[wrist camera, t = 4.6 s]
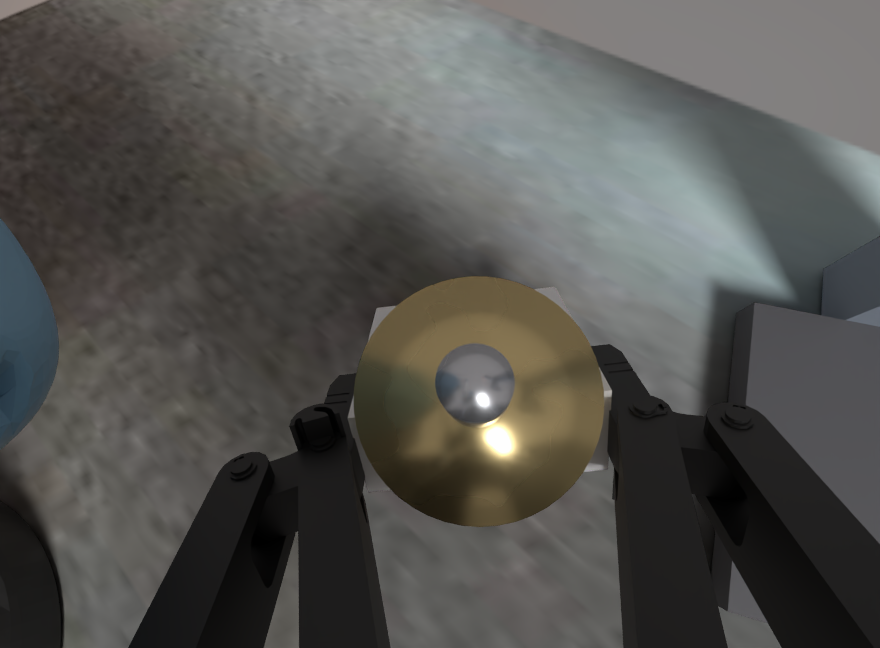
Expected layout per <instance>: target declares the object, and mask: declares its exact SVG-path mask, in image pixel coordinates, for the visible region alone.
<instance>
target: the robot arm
mask: <svg viewBox="0 0 880 648" xmlns="http://www.w3.org/2000/svg"><path fill="white" fill-rule="evenodd" d="M535 290H536V291H537V292H539V293H541V294H543V295H545V296H546V297H548V298H549V299H550V300H552V301H553V302H555V303H556V304H557V305H559V306H560V307H561V308H562V309H563V310H564V311H565V312H566V313H567V314H568V315H569V316H570V317H571V315H570V313H569V311H568V309H567V307H566V306H565V304H564V302H563V300H562V298H561V296H560V295H559V293H558V291H557V289H556V287H548V288H540V289H535ZM395 307H396V306H389V307H380V308H377V309H376V312H375V316H374V320H373V324H372V327H371V331H370V335H369V339H370V337H371V336H372V334H373V333H374V331H375V330H376V328H377V327H378V326H379V324H380V323H381V322H382V320H383V319H384V318H385V317H386V316H387V315H388V314H389V313H390V312H391V311H392V310H393V309H394V308H395ZM571 318H572V317H571ZM572 319H573V318H572ZM369 339H368V341H369ZM591 348H592V350H593V352H594V354H595V357H596V359H597V362H598V366H599V369H600V372H601V377H602V383H603V388H604V415H603V424H602V428H601V433H600V437H599V441H598V443H597V446H596V448H595V451H594V453H593V456H592V458H591V459H590V461H589V463H588V465H587V467H586V468H585V470H584V472H586V471H596V470H607V469H608V458H609V457H610V459H611V461H612V463H613V465H614V479H613V496H612V499H614V500H615V514H616V530H617V547H618V563H619V580H620V596H621V613H622V630H623V646H624V648H728V647H727V643H726V638H725V634H724V630H723V625H722V621H721V617H720V613H719V608H718V604H717V600H716V596H715V591H714V587H713V583H712V579H711V574H710V570H709V566H708V562H707V557H706V553H705V549H704V545H703V540H702V536H701V532H700V528H699V523H698V519H697V515H696V511H695V506H694V502H693V498H692V494H695V495H696V497H697V499H698V501H699V503H700V504H701V506H702V508H703V510H704V511H705V513H706V515H707V517H708V519H709V520H710V522H711V524H712V526H713V527H714V529H715V531H716V533H717V534H718V536H719V538H720V540H721V541H722V543H723V545H724V547H725V548H726V550H727V552H728V554H729V555H730V557H731V559H732V561H733V562H734V564H735V566H736V568H737V570H738V571H739V573H740V575H741V577H742V578H743V580H744V582H745V584H746V585H747V587H748V589H749V591H750V592H751V594H752V596H753V598H754V599H755V601H756V603H757V605H758V606H759V608H760V610H761V612H762V614H763V615H764V617H765V619H766V621H767V622H768V624H769V626H770V628H771V629H772V631H773V633H774V635H775V636H776V638H777V640H778V642H779V643H780V645H781V647H782V648H880V544H879V543H878V541H877V540H876V539H875V538H874V537H873V536H872V535H871V534H870V533H869V531H868V530H867V529H866V528H865V527H864V526H863V525H862V524H861V523H860V521H859V520H858V519H857V518H856V517H855V516H854V515H853V514H852V513H851V511H850V510H849V509H848V508H847V507H846V506H845V505H844V504H843V503H842V501H841V500H840V499H839V498H838V497H837V496H836V495H835V494H834V493H833V491H832V490H831V489H830V488H829V487H828V486H827V485H826V484H825V483H824V481H823V480H822V479H821V478H820V477H819V476H818V475H817V474H816V473H815V471H814V470H813V469H812V468H811V467H810V466H809V465H808V464H807V463H806V461H805V460H804V459H803V458H802V457H801V456H800V455H799V454H798V453H797V451H796V450H795V449H794V448H793V447H792V446H791V445H790V444H789V443H788V441H787V440H786V439H785V438H784V437H783V436H782V435H781V434H780V433H779V431H778V430H777V429H776V428H775V427H774V426H773V425H772V424H771V423H770V421H769V420H768V419H767V418H766V417H765V416H764V415H762V414H761V413H760V412H759V411H757V410H755V409H753V408H751V407H749V406H747V405H742V404H738V403H727V402H723V403H719V404H714V405H713V406H711V407H710V408H709V409H708V411H707V415H706V417H704V416H695V415H686V414H680V413H676V412H673V411H672V410H671V408H670V407H669V405H668V404H667V403H665V402H664V401H663V400H661V399H659V398H656V397H654V396H650V394H649V393H648V391H647V390H646V388H645V387H644V385H643V384H642V382H641V381H640V379H639V378H638V376H637V375H636V373H635V372H634V371H633V369H632V367H631V365H630V364H629V363H628V361H627V359H626V358H625V356H624V355H623V353H622V352H621V351H619V350H618V349H616V348H615V347H613V346H612V345H610V344H608V345H599V346H591ZM58 357H59V340H58V329H57V325H56V320H55V317H54V313H53V309H52V306H51V303H50V299H49V297H48V295H47V292H46V290H45V287H44V285H43V283H42V281H41V279H40V277H39V276H38V274H37V272H36V270H35V268H34V266H33V264H32V263H31V261H30V259H29V258H28V256H27V255H26V253H25V251H24V250H23V248H22V247H21V245H20V244H19V242H18V241H17V239H16V238H15V236H14V235H13V234H12V232H11V231H10V229H9V228H8V227H7V226H6V224H5V223H4V222H3V221H2V219H1V218H0V450H1V449H2V448H3V447H4V446H5V445H6V444H8V443H9V442H10V441H11V440H12V439H13V438H14V437H15V436H16V435H17V434H18V433H19V432H20V431H21V430H22V429H23V428H24V427H25V426H26V425H27V424H28V423H29V422H30V421H31V419H32V418H33V417H34V415H35V414H36V413H37V411H38V410H39V408H40V407H41V405H42V403H43V402H44V400H45V399H46V396H47V394H48V392H49V390H50V387H51V385H52V383H53V380H54V377H55V373H56V369H57V364H58ZM356 374H357V373H356ZM356 374H347V375H339V376H338V378H337V379H336V380H335V381H334V382H333V383H332V384H331V385H330V388H329V391H328V393H327V397H326V399H325V402H324V404H318V405H313V406H310V407H308V408H305V409H303V410H302V411H300V412H299V413H297V414H296V415H295V416H294V417H293V419H292V420H291V423H290V426H289V427H290V429H291V432H292V435H293V438H294V441H295V443H296V446H297V449H298V451H297V452H295V453H293V454H291V455H289V456H286V457H283V458H280V459H277V460H274V461H271V462H269V460H268V458H267V457H266V455H264V454H262V453H260V452H250V453H246V454H242V455H240V456H238V457H236V458H234V459H232V460H230V461H229V462H228V463H227V464H225V465H224V466H223V468H222V469H221V470H220V471H219V473H218V475H217V477H216V479H215V481H214V482H213V484H212V486H211V488H210V490H209V492H208V494H207V496H206V498H205V500H204V502H203V504H202V506H201V508H200V510H199V512H198V514H197V515H196V517H195V519H194V521H193V523H192V525H191V527H190V529H189V531H188V533H187V535H186V537H185V539H184V541H183V543H182V545H181V547H180V548H179V550H178V552H177V554H176V556H175V558H174V560H173V562H172V564H171V566H170V568H169V570H168V572H167V574H166V576H165V578H164V579H163V581H162V583H161V585H160V587H159V589H158V591H157V593H156V595H155V597H154V599H153V601H152V603H151V605H150V607H149V609H148V611H147V612H146V614H145V616H144V618H143V620H142V622H141V624H140V626H139V628H138V630H137V632H136V634H135V636H134V638H133V640H132V642H131V643H130V645H129V647H128V648H263V647H264V644H265V640H266V637H267V633H268V630H269V626H270V622H271V619H272V615H273V612H274V608H275V605H276V601H277V597H278V594H279V590H280V587H281V583H282V579H283V576H284V572H285V569H286V565H287V562H288V558H289V554H290V551H291V547H292V544H293V540H294V536H295V532H297V531H298V541H299V648H390V642H389V636H388V630H387V625H386V619H385V613H384V607H383V601H382V596H381V590H380V584H379V578H378V572H377V567H376V561H375V555H374V549H373V543H372V538H371V532H370V526H369V520H368V514H367V509H366V503H365V500H364V496H363V493H362V492H363V486H364V481H365V482H366V486H367V489H368V492H377V491H388V490H391V489H390V488H389V487H388V486H387V485H386V484H385V483H384V482H383V480H382V479H381V478H380V477H379V475H378V474H377V473H376V471H375V470H374V468H373V466H372V465H371V463H370V461H369V460H368V458H367V456H366V454H365V451H364V449H363V447H362V444H361V442H360V438H359V435H358V431H357V428H356V422H355V415H354V386H355V378H356ZM60 642H61V618H60V606H59V597H58V592H57V587H56V582H55V579H54V575H53V571H52V568H51V566H50V563H49V560H48V558H47V555H46V553H45V551H44V549H43V547H42V545H41V543H40V542H39V540H38V538H37V537H36V535H35V534H34V532H33V531H32V530H31V528H30V527H29V526H28V525H27V523H26V522H25V521H24V520H23V519H22V518H21V517H20V516H19V515H18V514H17V513H16V512H14V511H13V510H12V509H11V508H9V507H8V506H7V505H5V504H3V503H2V502H0V648H60Z"/></svg>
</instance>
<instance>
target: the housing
mask: <svg viewBox="0 0 880 648" xmlns="http://www.w3.org/2000/svg"><path fill="white" fill-rule="evenodd" d="M354 415H355V422H356V428H357V431H358V435H359V438H360V442H361V444H362V447H363V449H364V451H365V454H366V456H367V458H368V460H369V461H370V463H371V465H372V466H373V468H374V470H375V471H376V473H377V474H378V475H379V477H380V478H381V479H382V480H383V482H384V483H385V484H386V485H387V486H388V487H389V488H390V489H391V490H392V491H393V492H394V493H395V494H396V495H397V496H398V497H399V498H401V499H402V500H403V501H405V502H406V503H407V504H409V505H410V506H412V507H413V508H415V509H417V510H419V511H420V512H422V513H424V514H426V515H428V516H430V517H433V518H436V519H439V520H441V521H444V522H448V523H453V524H457V525H462V526H474V527H485V526H498V525H503V524H508V523H513V522H516V521H519V520H522V519H524V518H527V517H530V516H532V515H534V514H536V513H538V512H540V511H541V510H543V509H545V508H547V507H548V506H550V505H551V504H552V503H554V502H555V501H556V500H558V499H559V498H561V497H562V496H563V495H564V494H565V493H566V492H567V491H568V490H569V489H570V488H571V487H572V486H573V485H574V484H575V482H576V481H577V480H578V478H579V477H580V476H581V474H582V473H583V472H584V470H585V468H586V467H587V465H588V463H589V461H590V459H591V458H592V456H593V453H594V451H595V448H596V446H597V443H598V441H599V437H600V433H601V428H602V424H603V415H604V388H603V383H602V377H601V372H600V369H599V366H598V362H597V359H596V357H595V354H594V352H593V350H592V348H591V346H590V344H589V342H588V340H587V339H586V337H585V335H584V334H583V332H582V331H581V329H580V328H579V327H578V325H577V324H576V323H575V322H574V320H573V319H572V318H571V317H570V316H569V315H568V314H567V313H566V312H565V311H564V310H563V309H562V308H561V307H560V306H559V305H557V304H556V303H555V302H553V301H552V300H550V299H549V298H548V297H546V296H545V295H543V294H541V293H539V292H537V291H536V290H534V289H532V288H530V287H527V286H525V285H522V284H520V283H517V282H513V281H510V280H506V279H501V278H494V277H485V276H470V277H460V278H454V279H450V280H445V281H442V282H439V283H436V284H433V285H430V286H428V287H426V288H424V289H422V290H420V291H418V292H416V293H414V294H413V295H411V296H410V297H408V298H407V299H405V300H404V301H402V302H401V303H400V304H399V305H398V306H396V307H395V308H394V309H393V310H392V311H391V312H390V313H389V314H388V315H387V316H386V317H385V318H384V319H383V320H382V322H381V323H380V324H379V326H378V327H377V328H376V330H375V331H374V333H373V334H372V336H371V337H370V339H369V341H368V343H367V345H366V347H365V349H364V351H363V354H362V357H361V359H360V362H359V365H358V369H357V374H356V378H355V386H354Z"/></svg>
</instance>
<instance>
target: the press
mask: <svg viewBox="0 0 880 648" xmlns="http://www.w3.org/2000/svg"><path fill="white" fill-rule="evenodd" d="M728 403H738V404H742V405H747V406H749V407H751V408H753V409H755V410H757V411H759V412H760V413H761V414H762V415H764V416H765V417H766V418H767V419H768V420H769V421H770V423H771V424H772V425H773V426H774V427H775V428H776V429H777V430H778V431H779V433H780V434H781V435H782V436H783V437H784V438H785V439H786V440H787V441H788V443H789V444H790V445H791V446H792V447H793V448H794V449H795V450H796V451H797V453H798V454H799V455H800V456H801V457H802V458H803V459H804V460H805V461H806V463H807V464H808V465H809V466H810V467H811V468H812V469H813V470H814V471H815V473H816V474H817V475H818V476H819V477H820V478H821V479H822V480H823V481H824V483H825V484H826V485H827V486H828V487H829V488H830V489H831V490H832V491H833V493H834V494H835V495H836V496H837V497H838V498H839V499H840V500H841V501H842V503H843V504H844V505H845V506H846V507H847V508H848V509H849V510H850V511H851V513H852V514H853V515H854V516H855V517H856V518H857V519H858V520H859V521H860V523H861V524H862V525H863V526H864V527H865V528H866V529H867V530H868V531H869V533H870V534H871V535H872V536H873V537H874V538H875V539H876V540H877V541H878V543H879V544H880V236H879V237H877V238H876V239H874V240H872V241H871V242H869V243H867V244H865V245H864V246H862V247H860V248H858V249H857V250H855V251H853V252H852V253H850V254H848V255H846V256H845V257H843V258H841V259H840V260H838V261H836V262H834V263H833V264H831V265H829V266H828V267H826V268H824V270H823V291H822V313H821V315H817V314H812V313H807V312H802V311H797V310H792V309H786V308H781V307H776V306H771V305H766V304H761V303H756V302H754V303H753V304H751V305H749V306H748V307H746V308H744V309H743V310H741V311H739V312H738V313H737V314H736V324H735V334H734V345H733V355H732V365H731V376H730V386H729V396H728ZM711 579H712V583H713V587H714V591H715V596H716V600H717V604H718V606H719V607H721V608H723V609H724V610H726V611H728V612H731V613H735V614H738V615H741V616H745V617H748V618H752V619H755V620H758V621H762V622H765V623H768V622H767V621H766V619H765V617H764V615H763V614H762V612H761V610H760V608H759V606H758V605H757V603H756V601H755V599H754V598H753V596H752V594H751V592H750V591H749V589H748V587H747V585H746V584H745V582H744V580H743V578H742V577H741V575H740V573H739V571H738V570H737V568H736V566H735V564H734V562H733V561H732V559H731V557H730V555H729V554H728V552H727V550H726V548H725V547H724V545H723V543H722V541H721V540H720V538H719V536H718V534H717V533H716V531H715V541H714V551H713V562H712V572H711Z"/></svg>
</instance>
